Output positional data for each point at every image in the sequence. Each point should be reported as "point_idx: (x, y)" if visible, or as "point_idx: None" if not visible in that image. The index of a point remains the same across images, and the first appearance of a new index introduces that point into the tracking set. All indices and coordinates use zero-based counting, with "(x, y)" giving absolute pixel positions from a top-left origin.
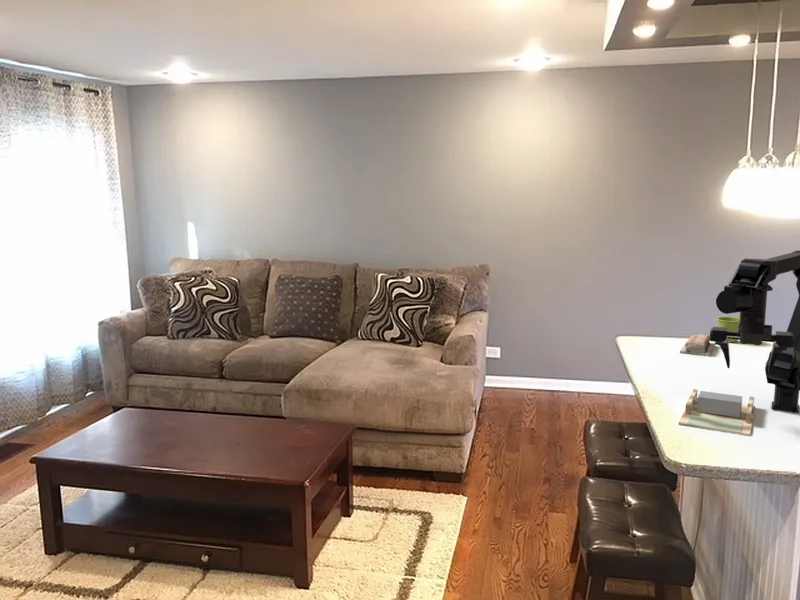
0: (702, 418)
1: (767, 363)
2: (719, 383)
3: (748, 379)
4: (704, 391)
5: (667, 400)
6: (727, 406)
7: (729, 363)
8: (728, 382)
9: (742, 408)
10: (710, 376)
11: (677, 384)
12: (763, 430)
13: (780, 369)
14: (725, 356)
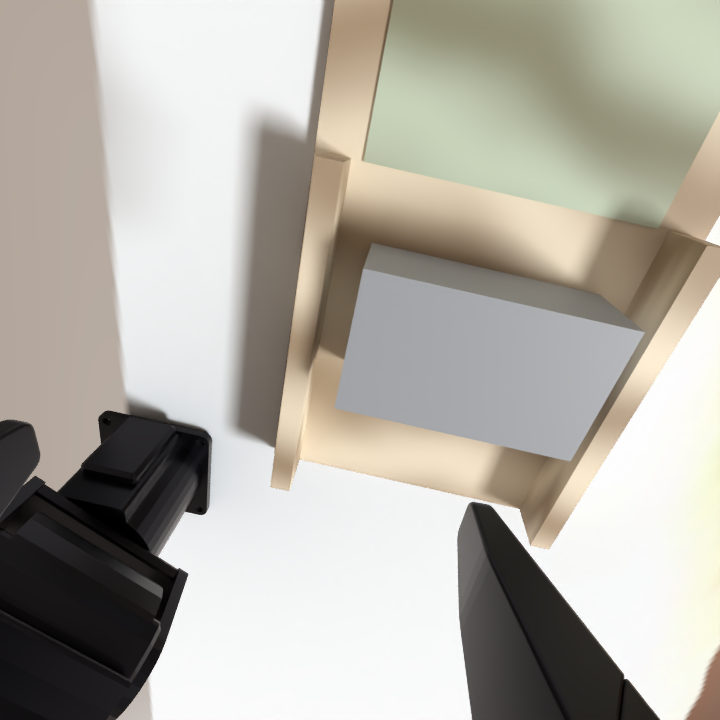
0: (610, 162)
1: (115, 683)
2: (377, 665)
3: (277, 699)
4: (550, 453)
5: (679, 468)
6: (443, 275)
7: (489, 550)
8: (345, 675)
9: (334, 410)
10: (395, 714)
11: None
12: (258, 67)
13: (34, 609)
14: (607, 670)
